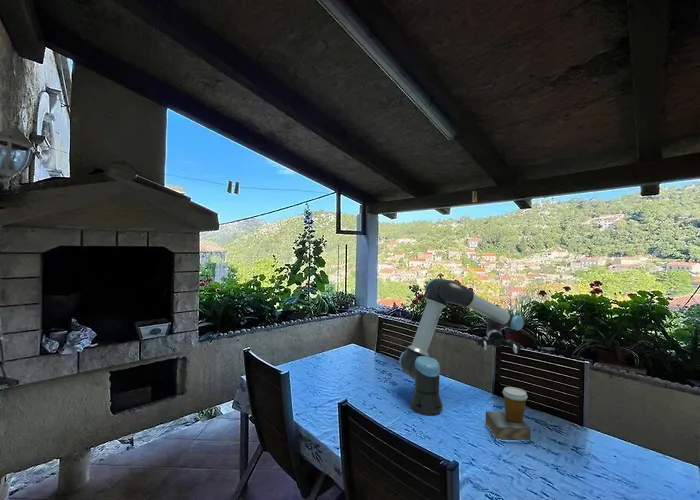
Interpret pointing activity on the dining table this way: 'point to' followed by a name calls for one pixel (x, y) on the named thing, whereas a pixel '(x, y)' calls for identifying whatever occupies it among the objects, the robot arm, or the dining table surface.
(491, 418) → the block
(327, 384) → the dining table surface
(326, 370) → the dining table surface
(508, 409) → the disposable coffee cup
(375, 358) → the dining table surface
